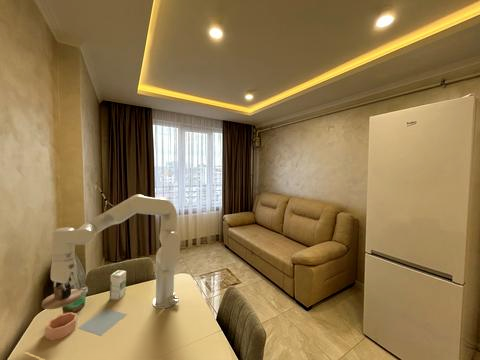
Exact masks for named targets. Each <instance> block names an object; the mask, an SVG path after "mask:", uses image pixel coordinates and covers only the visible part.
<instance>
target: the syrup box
mask: <svg viewBox="0 0 480 360" xmlns="http://www.w3.org/2000/svg"><path fill="white" fill-rule="evenodd" d="M126 284H127V271H126V270H120V269H118V270H116V271H115V272H113V273H112V274H110V283H109V300H120V299H121V298H122V297H124V296H125V295H126V287H127V286H126Z"/></svg>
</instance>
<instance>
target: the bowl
mask: <svg viewBox="0 0 480 360" xmlns="http://www.w3.org/2000/svg"><path fill="white" fill-rule="evenodd" d="M78 315H79V314H78V313H77V312H75V313H72V312H70V313H66V314H63V313H62V314H59V315H57V316H56V317H54V318H51V319H50V320H49V321H48V322H47V324H46V326H45V334H44V335H45V336H44V337H45V339H47V340H50V341H55V340H58V339H61V338H66V336H68V335H70V334H71V333H72V332H74V331H75V330H76V329H77V326H78V321H79V319H78V318H79V317H78Z"/></svg>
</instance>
